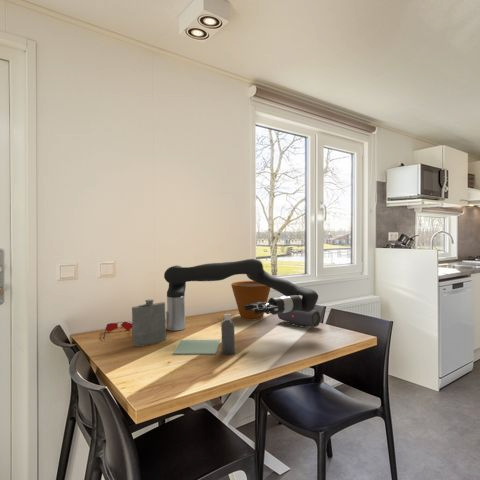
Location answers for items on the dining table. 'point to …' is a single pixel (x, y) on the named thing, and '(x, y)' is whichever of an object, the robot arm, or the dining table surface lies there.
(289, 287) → the robot arm
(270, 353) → the dining table surface
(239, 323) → the dining table surface
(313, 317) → the bluetooth speaker
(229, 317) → the grey bottle
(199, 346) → the mat
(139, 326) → the hip flask
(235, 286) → the flower pot
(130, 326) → the glasses
